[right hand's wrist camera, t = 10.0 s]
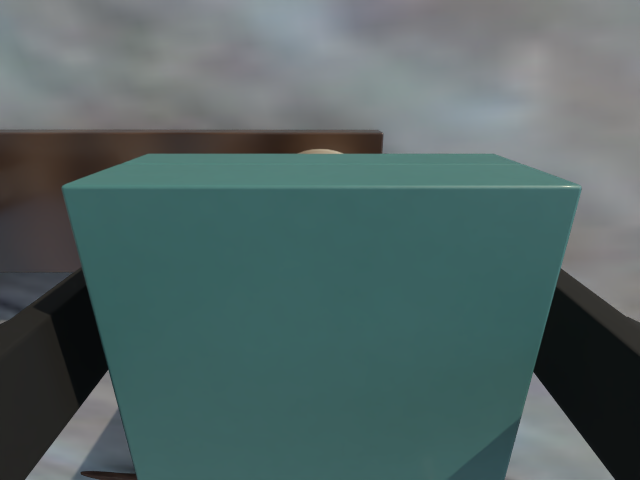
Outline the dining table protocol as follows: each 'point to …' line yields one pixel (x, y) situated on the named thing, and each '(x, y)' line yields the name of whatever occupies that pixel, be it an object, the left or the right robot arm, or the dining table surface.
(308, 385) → the cap block
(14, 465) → the right robot arm
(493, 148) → the dining table surface
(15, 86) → the dining table surface
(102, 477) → the fork
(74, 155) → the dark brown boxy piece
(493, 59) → the dining table surface
